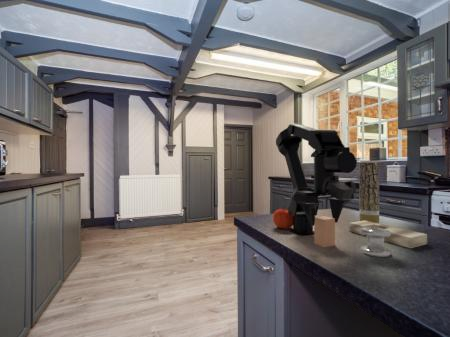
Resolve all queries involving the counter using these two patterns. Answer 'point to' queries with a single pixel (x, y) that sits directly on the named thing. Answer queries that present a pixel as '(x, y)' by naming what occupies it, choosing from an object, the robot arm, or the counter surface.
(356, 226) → the notched board
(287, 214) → the apple
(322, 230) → the tab block
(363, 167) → the paper tube
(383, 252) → the bobbin
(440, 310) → the counter surface
